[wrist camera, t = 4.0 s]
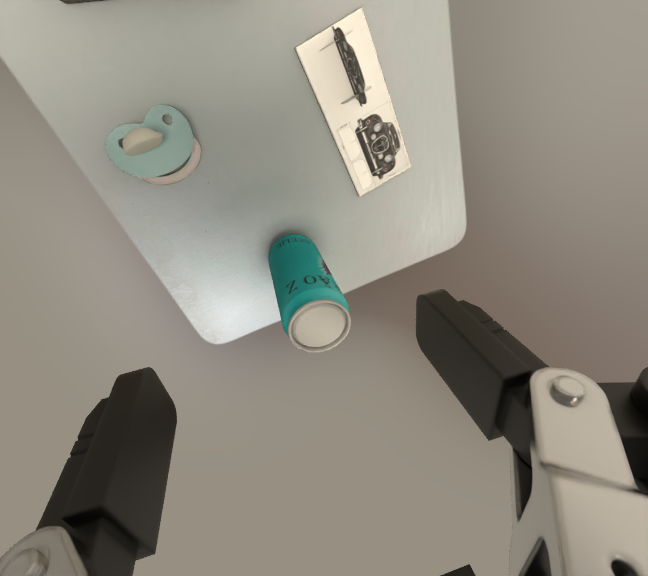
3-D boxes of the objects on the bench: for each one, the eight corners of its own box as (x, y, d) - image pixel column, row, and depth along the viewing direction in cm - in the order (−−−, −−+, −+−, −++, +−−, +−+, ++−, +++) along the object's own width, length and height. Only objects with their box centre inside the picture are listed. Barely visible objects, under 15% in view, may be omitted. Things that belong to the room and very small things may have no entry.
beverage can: (319, 265, 40) (359, 343, 28) (274, 279, 40) (294, 364, 27) (309, 223, 37) (348, 288, 24) (260, 237, 36) (275, 311, 24)
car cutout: (294, 48, 28) (304, 41, 25) (360, 8, 28) (379, -6, 24) (358, 195, 37) (372, 207, 33) (409, 165, 36) (430, 174, 33)
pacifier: (215, 160, 32) (175, 95, 28) (214, 175, 26) (164, 98, 23) (150, 195, 32) (102, 135, 28) (136, 217, 27) (75, 147, 23)
